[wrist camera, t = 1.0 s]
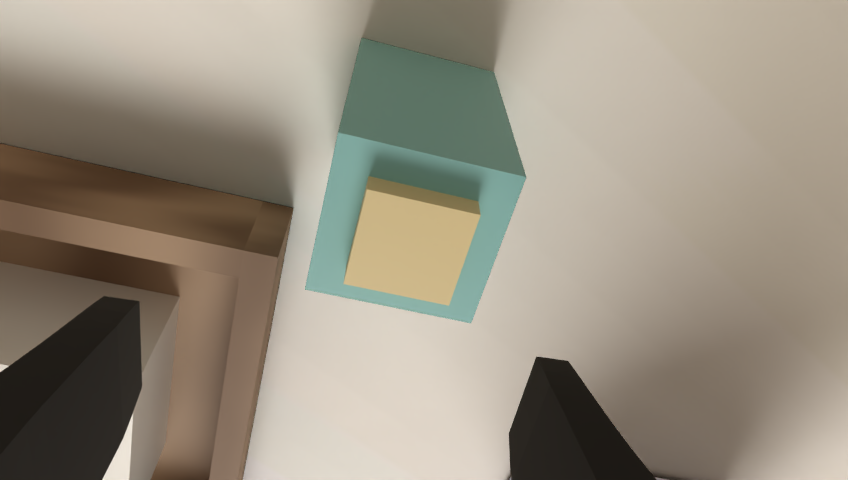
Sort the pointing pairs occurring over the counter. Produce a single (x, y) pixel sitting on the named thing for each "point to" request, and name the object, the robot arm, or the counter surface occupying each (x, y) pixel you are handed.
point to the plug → (417, 185)
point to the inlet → (61, 302)
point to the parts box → (164, 283)
